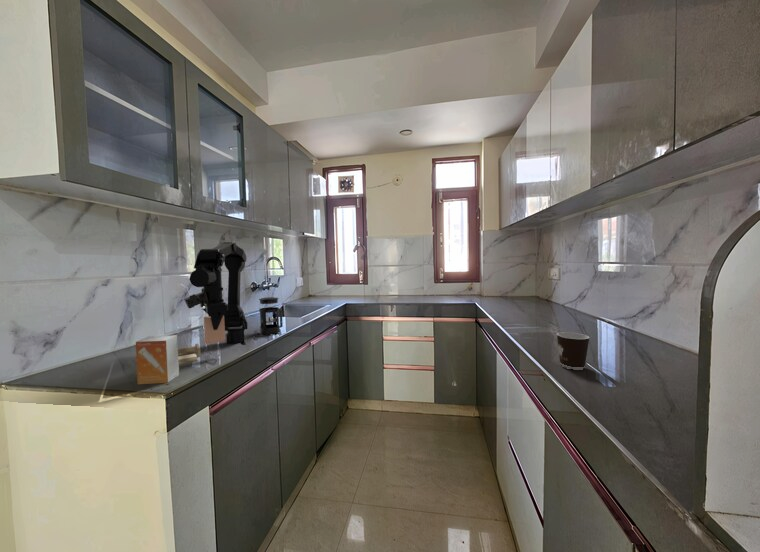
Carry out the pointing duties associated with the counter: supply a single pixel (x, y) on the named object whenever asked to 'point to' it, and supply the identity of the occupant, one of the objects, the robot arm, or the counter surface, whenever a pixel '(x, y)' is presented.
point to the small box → (157, 359)
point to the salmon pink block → (213, 331)
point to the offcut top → (187, 358)
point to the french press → (271, 327)
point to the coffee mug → (572, 348)
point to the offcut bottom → (189, 362)
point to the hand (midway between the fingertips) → (214, 329)
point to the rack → (190, 350)
